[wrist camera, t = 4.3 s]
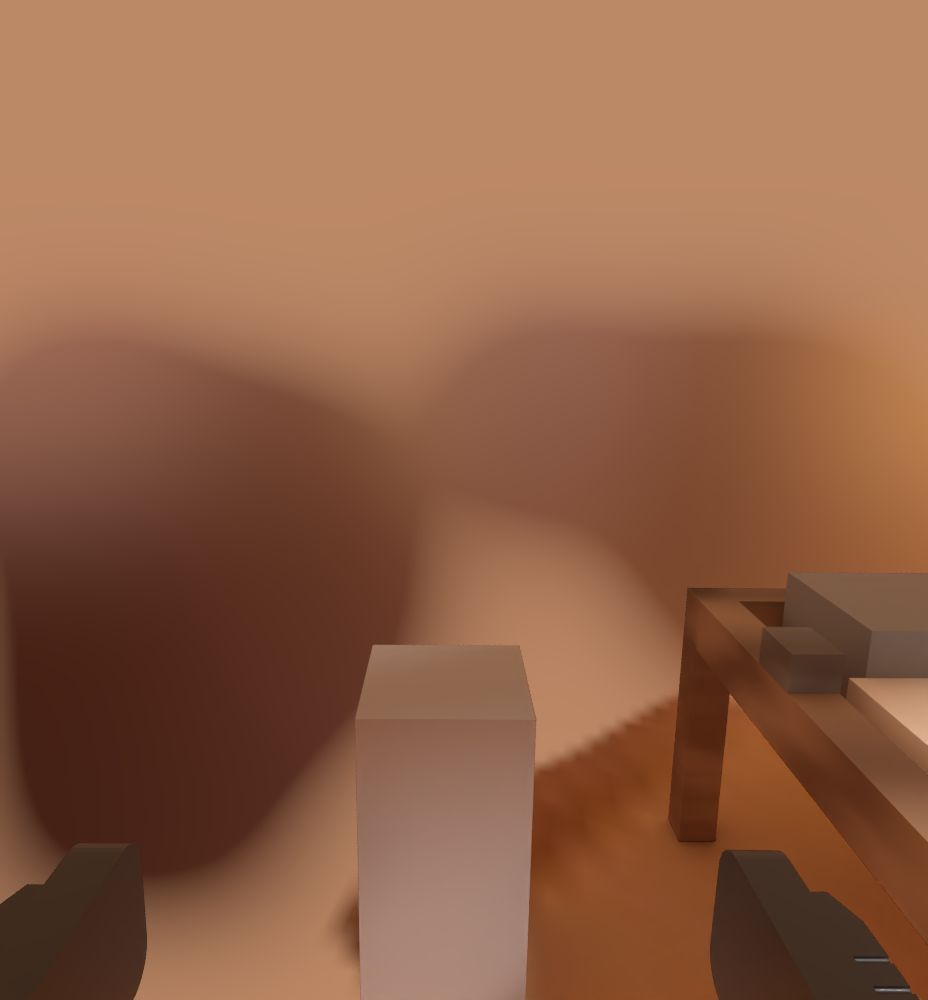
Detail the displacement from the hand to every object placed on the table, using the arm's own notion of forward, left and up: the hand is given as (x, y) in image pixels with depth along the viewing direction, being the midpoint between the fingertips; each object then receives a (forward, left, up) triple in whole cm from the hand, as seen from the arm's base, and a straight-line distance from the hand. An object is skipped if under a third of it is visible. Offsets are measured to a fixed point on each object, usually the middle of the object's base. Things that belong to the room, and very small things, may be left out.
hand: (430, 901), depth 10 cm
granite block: (0, -12, -13) cm, 18 cm away
